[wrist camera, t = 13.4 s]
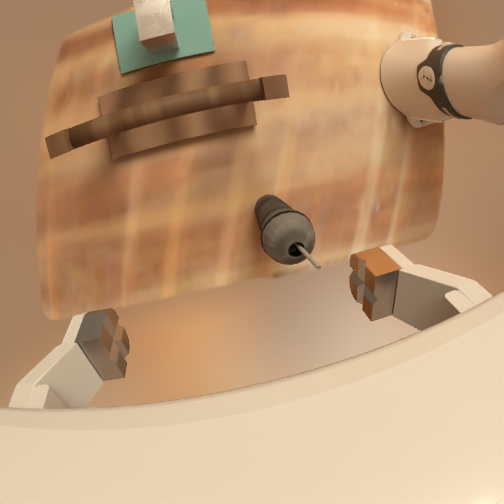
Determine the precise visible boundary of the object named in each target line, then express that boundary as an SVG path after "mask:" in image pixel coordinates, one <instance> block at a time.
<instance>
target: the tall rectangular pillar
mask: <svg viewBox="0 0 504 504" xmlns="http://www.w3.org/2000/svg"><path fill="white" fill-rule="evenodd" d="M134 8H135V15H136V22H137V28H138V35H139V41H140V42H141V43H142V44H143V45H144V46H145V48H146V49H147V50H148V51H149V52H150V53H151V54H152V55H156V54H160V53H164V52H168V51H172V50H176V49H180V48H179V42H178V38H177V34H176V31H175V27H174V23H173V17H174V13H173V7H172V3H171V0H134Z"/></svg>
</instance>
